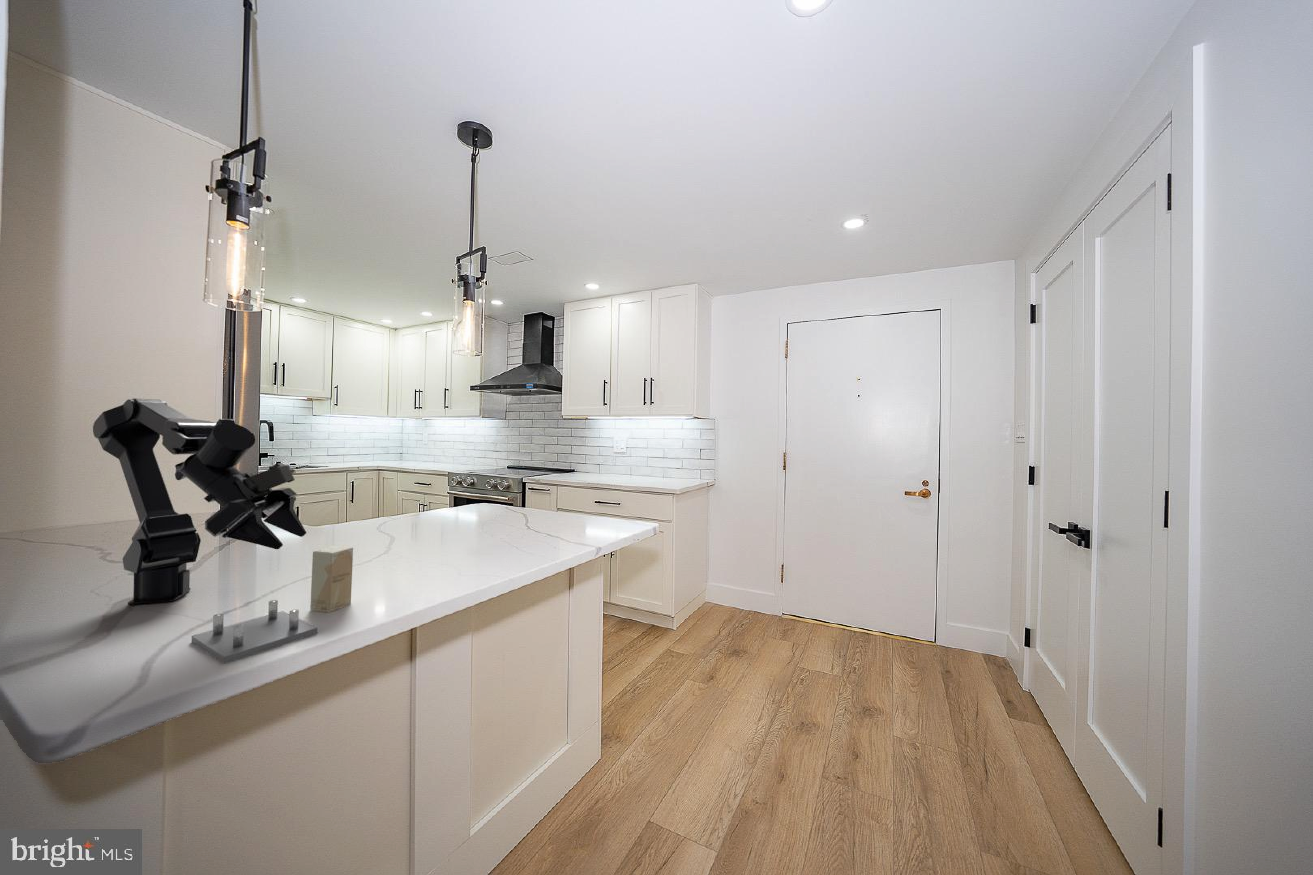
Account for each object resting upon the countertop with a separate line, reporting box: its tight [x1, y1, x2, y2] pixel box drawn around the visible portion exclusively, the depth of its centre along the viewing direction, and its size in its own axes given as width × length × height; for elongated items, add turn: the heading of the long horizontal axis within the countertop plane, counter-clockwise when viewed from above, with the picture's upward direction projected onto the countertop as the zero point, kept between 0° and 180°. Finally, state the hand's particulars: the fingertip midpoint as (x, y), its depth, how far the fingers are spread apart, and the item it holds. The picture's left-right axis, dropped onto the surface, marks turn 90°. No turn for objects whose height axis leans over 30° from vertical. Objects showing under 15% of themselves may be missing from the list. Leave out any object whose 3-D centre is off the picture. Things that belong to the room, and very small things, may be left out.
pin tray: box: [191, 599, 319, 665], centre depth 75 cm, size 12×12×4 cm
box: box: [309, 545, 354, 613], centre depth 89 cm, size 5×4×11 cm
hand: (293, 540), depth 87 cm, fingers open, 9 cm apart
